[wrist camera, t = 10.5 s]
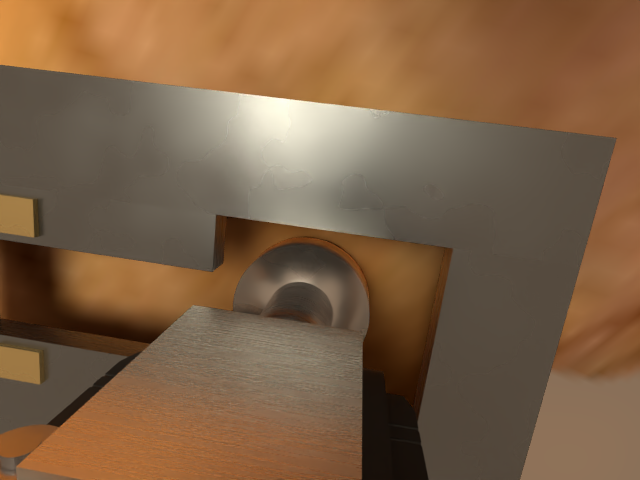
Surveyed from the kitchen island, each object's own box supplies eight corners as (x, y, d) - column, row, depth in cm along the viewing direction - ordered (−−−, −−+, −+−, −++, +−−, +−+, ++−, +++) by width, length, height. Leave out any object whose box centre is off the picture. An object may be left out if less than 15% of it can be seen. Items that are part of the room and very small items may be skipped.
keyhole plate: (548, 141, 14) (621, 138, 10) (467, 470, 18) (498, 567, 14) (-24, 72, 16) (-157, 45, 12) (-3, 384, 19) (-102, 448, 15)
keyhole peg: (378, 247, 15) (416, 505, 4) (359, 365, 17) (350, 814, 5) (249, 228, 16) (-27, 421, 5) (240, 345, 17) (0, 726, 6)
